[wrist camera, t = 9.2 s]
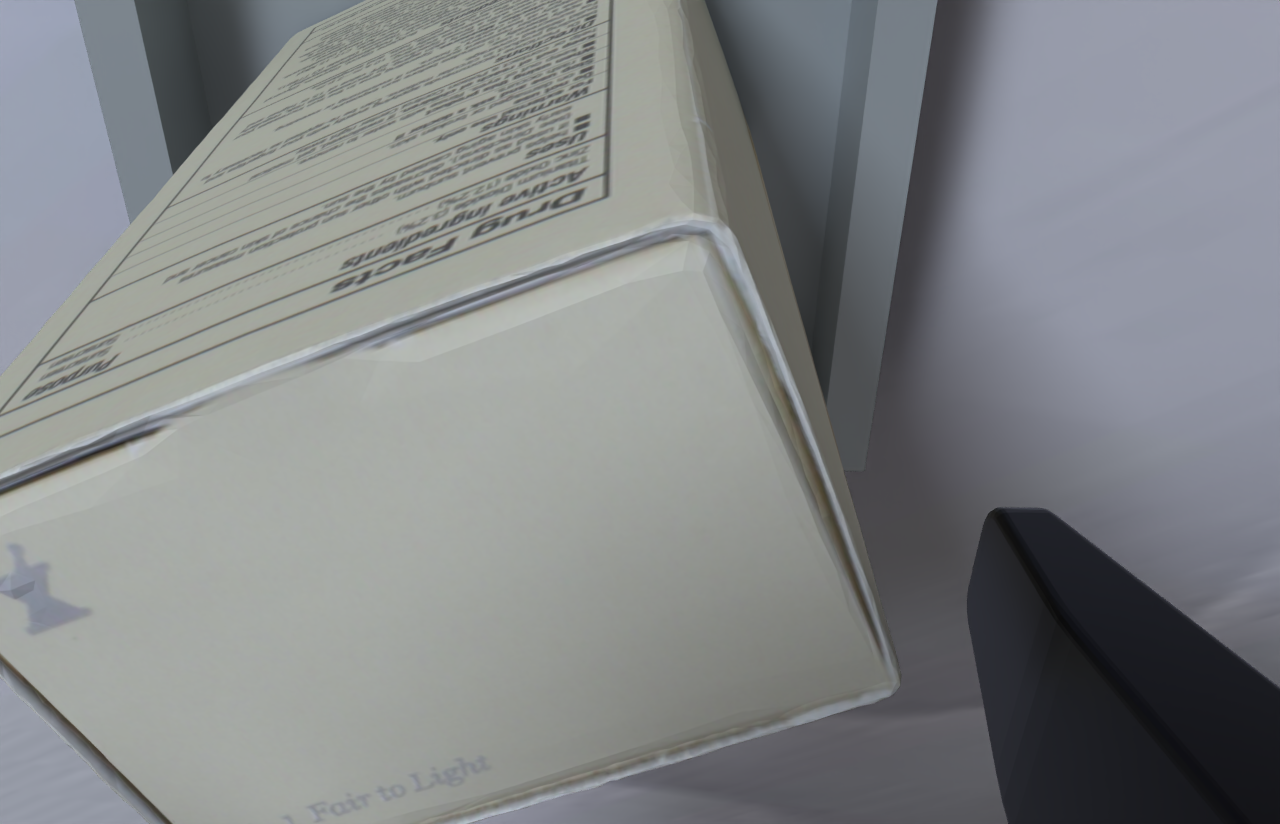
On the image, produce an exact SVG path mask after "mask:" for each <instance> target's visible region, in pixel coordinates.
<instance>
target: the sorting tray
mask: <svg viewBox="0 0 1280 824" xmlns="http://www.w3.org/2000/svg"><path fill="white" fill-rule="evenodd" d="M74 1H75V5H76V9H77V13H78V17H79V21H80V25H81V29H82V33H83V37H84V41H85V45H86V49H87V53H88V57H89V61H90V65H91V69H92V73H93V77H94V81H95V85H96V89H97V93H98V97H99V101H100V105H101V109H102V113H103V117H104V121H105V125H106V129H107V133H108V137H109V141H110V145H111V149H112V153H113V157H114V161H115V165H116V169H117V173H118V177H119V181H120V185H121V189H122V193H123V197H124V201H125V205H126V209H127V213H128V217H129V221H130V224H131V223H132V222H133V221H134V220H135V219H136V217H137V216H138V215H139V214H140V213H141V212H142V211H143V210H144V209H145V207H146V206H147V205H148V204H149V203H150V202H151V201H152V200H153V199H154V198H155V196H156V195H157V194H158V192H159V191H160V190H161V189H162V188H163V186H164V185H165V184H166V183H167V182H168V181H169V179H170V178H171V177H172V176H173V175H174V173H175V172H176V171H177V170H178V169H179V167H180V166H181V165H182V164H183V163H184V162H185V160H186V159H187V158H188V157H189V156H190V155H191V153H192V152H193V151H194V150H195V148H196V147H197V146H198V145H199V144H200V143H201V142H202V141H203V140H204V138H205V137H206V136H207V135H208V133H209V132H210V131H211V130H212V129H213V127H214V126H215V125H216V124H217V123H218V122H219V121H220V120H221V119H222V118H223V117H224V116H225V114H226V113H227V112H228V111H229V110H230V108H231V107H232V106H233V105H234V104H235V103H236V101H237V100H238V99H239V98H240V97H241V96H242V95H243V93H244V92H245V91H246V90H247V89H248V87H249V86H250V85H251V84H252V83H253V82H254V81H255V80H256V79H257V77H258V76H259V75H260V74H261V72H262V71H263V70H264V69H265V68H266V66H267V65H268V64H269V63H270V62H271V61H272V60H273V58H274V57H275V56H276V55H277V54H278V53H279V52H280V50H281V49H282V48H283V47H284V45H285V44H286V43H287V42H288V41H289V39H291V38H292V37H293V36H294V35H295V34H297V33H298V32H300V31H302V30H304V29H306V28H308V27H310V26H313V25H315V24H317V23H319V22H321V21H323V20H325V19H328V18H330V17H332V16H334V15H336V14H338V13H340V12H342V11H344V10H347V9H349V8H351V7H353V6H355V5H357V4H359V3H361V2H363V1H365V0H74ZM705 3H706V5H707V8H708V11H709V14H710V17H711V19H712V22H713V25H714V28H715V31H716V33H717V36H718V39H719V42H720V45H721V47H722V50H723V53H724V56H725V59H726V62H727V65H728V68H729V71H730V74H731V76H732V79H733V82H734V85H735V88H736V91H737V94H738V97H739V100H740V103H741V106H742V109H743V112H744V115H745V118H746V121H747V124H748V127H749V129H750V133H751V136H752V140H753V144H754V147H755V151H756V154H757V158H758V162H759V165H760V169H761V173H762V177H763V180H764V184H765V188H766V192H767V195H768V199H769V203H770V207H771V210H772V214H773V218H774V221H775V225H776V229H777V233H778V236H779V240H780V244H781V247H782V251H783V254H784V258H785V262H786V265H787V269H788V273H789V276H790V280H791V284H792V287H793V291H794V294H795V298H796V301H797V305H798V308H799V312H800V315H801V319H802V322H803V326H804V329H805V333H806V337H807V340H808V344H809V347H810V351H811V354H812V358H813V362H814V365H815V369H816V372H817V376H818V379H819V383H820V386H821V390H822V393H823V397H824V400H825V404H826V407H827V411H828V414H829V418H830V421H831V425H832V428H833V432H834V435H835V439H836V443H837V447H838V451H839V455H840V459H841V462H842V466H843V470H844V471H865V466H866V459H867V453H868V446H869V440H870V433H871V427H872V420H873V414H874V407H875V401H876V394H877V388H878V382H879V375H880V369H881V362H882V356H883V349H884V343H885V336H886V330H887V323H888V317H889V310H890V304H891V298H892V291H893V285H894V278H895V272H896V265H897V259H898V252H899V246H900V239H901V233H902V226H903V220H904V214H905V207H906V201H907V194H908V188H909V181H910V175H911V168H912V162H913V155H914V149H915V142H916V136H917V130H918V123H919V117H920V110H921V104H922V97H923V91H924V84H925V78H926V71H927V65H928V58H929V52H930V46H931V39H932V33H933V26H934V20H935V13H936V7H937V0H705Z"/></svg>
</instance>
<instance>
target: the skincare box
mask: <svg viewBox="0 0 1280 824" xmlns="http://www.w3.org/2000/svg"><path fill="white" fill-rule="evenodd" d="M0 678H1V679H3V680H4V681H5V683H6V684H7V685H8V686H9V687H10V688H11V689H12V690H13V692H14V693H15V694H16V695H17V696H18V697H19V698H20V699H21V700H22V701H23V702H24V703H25V704H26V705H28V706H29V707H30V708H31V709H33V711H34V712H35V713H36V714H37V715H38V716H39V717H40V718H41V719H42V720H43V721H44V722H45V723H46V724H47V725H48V726H49V727H50V728H51V729H52V730H53V731H54V732H55V733H56V734H57V735H58V736H59V737H60V738H61V739H62V740H63V741H64V742H65V743H66V744H67V745H68V746H70V747H71V748H72V749H73V750H74V751H75V752H76V753H77V754H78V755H79V757H80V758H81V759H82V760H84V761H85V762H86V763H87V764H88V765H89V766H90V767H91V768H92V770H93V771H94V772H95V773H96V774H97V775H98V776H99V777H100V778H101V779H102V780H103V781H104V782H105V783H106V784H107V785H108V786H109V787H110V788H111V789H112V790H113V791H114V792H115V793H117V794H118V795H119V796H120V797H121V799H122V800H123V801H125V802H126V803H127V804H128V805H130V806H131V807H132V808H134V809H135V810H136V811H137V812H138V813H139V814H140V815H141V816H142V817H143V818H144V819H145V820H146V821H147V822H148V823H149V824H470V823H473V822H477V821H480V820H483V819H486V818H489V817H493V816H497V815H500V814H504V813H508V812H512V811H515V810H519V809H523V808H527V807H529V806H532V805H535V804H537V803H540V802H543V801H547V800H550V799H554V798H557V797H560V796H564V795H567V794H571V793H575V792H579V791H584V790H588V789H593V788H597V787H600V786H602V785H604V784H605V783H607V782H609V781H611V780H621V779H623V778H625V777H627V776H633V775H636V774H639V773H643V772H646V771H649V770H652V769H656V768H660V767H663V766H667V765H671V764H675V763H678V762H681V761H684V760H687V759H690V758H693V757H699V756H702V755H705V754H707V753H710V752H713V751H716V750H719V749H721V748H724V747H727V746H731V745H734V744H738V743H741V742H745V741H749V740H752V739H756V738H759V737H763V736H766V735H770V734H773V733H776V732H779V731H782V730H785V729H788V728H792V727H795V726H799V725H803V724H806V723H810V722H813V721H816V720H819V719H822V718H825V717H828V716H831V715H834V714H838V713H842V712H845V711H849V710H852V709H854V708H857V707H860V706H864V705H869V704H874V703H876V702H878V701H880V700H883V699H885V698H888V697H890V696H892V695H894V694H895V692H896V691H897V690H898V689H899V687H900V684H901V671H900V667H899V663H898V659H897V655H896V651H895V648H894V645H893V641H892V638H891V635H890V631H889V628H888V624H887V621H886V618H885V614H884V611H883V607H882V604H881V601H880V597H879V593H878V590H877V586H876V583H875V579H874V575H873V572H872V568H871V565H870V561H869V557H868V554H867V550H866V547H865V543H864V540H863V536H862V533H861V529H860V526H859V522H858V519H857V515H856V512H855V508H854V505H853V501H852V498H851V494H850V491H849V487H848V484H847V481H846V477H845V474H844V470H843V466H842V462H841V459H840V455H839V451H838V447H837V443H836V439H835V435H834V432H833V428H832V425H831V421H830V418H829V414H828V411H827V407H826V404H825V400H824V397H823V393H822V390H821V386H820V383H819V379H818V376H817V372H816V369H815V365H814V362H813V358H812V354H811V351H810V347H809V344H808V340H807V337H806V333H805V329H804V326H803V322H802V319H801V315H800V312H799V308H798V305H797V301H796V298H795V294H794V291H793V287H792V284H791V280H790V276H789V273H788V269H787V265H786V262H785V258H784V254H783V251H782V247H781V244H780V240H779V236H778V233H777V229H776V225H775V221H774V218H773V214H772V210H771V207H770V203H769V199H768V195H767V192H766V188H765V184H764V180H763V177H762V173H761V169H760V165H759V162H758V158H757V154H756V151H755V147H754V144H753V140H752V136H751V133H750V129H749V127H748V124H747V121H746V118H745V115H744V112H743V109H742V106H741V103H740V100H739V97H738V94H737V91H736V88H735V85H734V82H733V79H732V76H731V74H730V71H729V68H728V65H727V62H726V59H725V56H724V53H723V50H722V47H721V45H720V42H719V39H718V36H717V33H716V31H715V28H714V25H713V22H712V19H711V17H710V14H709V11H708V8H707V5H706V3H705V0H365V1H363V2H361V3H359V4H357V5H355V6H353V7H351V8H349V9H347V10H344V11H342V12H340V13H338V14H336V15H334V16H332V17H330V18H328V19H325V20H323V21H321V22H319V23H317V24H315V25H313V26H310V27H308V28H306V29H304V30H302V31H300V32H298V33H297V34H295V35H294V36H293V37H292V38H291V39H289V41H288V42H287V43H286V44H285V45H284V47H283V48H282V49H281V50H280V52H279V53H278V54H277V55H276V56H275V57H274V58H273V60H272V61H271V62H270V63H269V64H268V65H267V66H266V68H265V69H264V70H263V71H262V72H261V74H260V75H259V76H258V77H257V79H256V80H255V81H254V82H253V83H252V84H251V85H250V86H249V87H248V89H247V90H246V91H245V92H244V93H243V95H242V96H241V97H240V98H239V99H238V100H237V101H236V103H235V104H234V105H233V106H232V107H231V108H230V110H229V111H228V112H227V113H226V114H225V116H224V117H223V118H222V119H221V120H220V121H219V122H218V123H217V124H216V125H215V126H214V127H213V129H212V130H211V131H210V132H209V133H208V135H207V136H206V137H205V138H204V140H203V141H202V142H201V143H200V144H199V145H198V146H197V147H196V148H195V150H194V151H193V152H192V153H191V155H190V156H189V157H188V158H187V159H186V160H185V162H184V163H183V164H182V165H181V166H180V167H179V169H178V170H177V171H176V172H175V173H174V175H173V176H172V177H171V178H170V179H169V181H168V182H167V183H166V184H165V185H164V186H163V188H162V189H161V190H160V191H159V192H158V194H157V195H156V196H155V198H154V199H153V200H152V201H151V202H150V203H149V204H148V205H147V206H146V207H145V209H144V210H143V211H142V212H141V213H140V214H139V215H138V216H137V217H136V219H135V220H134V221H133V222H132V223H131V224H130V226H129V227H128V228H127V229H126V230H125V231H124V233H123V234H122V235H121V236H120V237H119V238H118V240H117V241H116V242H115V243H114V244H113V246H112V247H111V248H110V249H109V250H108V251H107V253H106V254H105V255H104V256H103V257H102V258H101V260H100V261H99V262H98V263H97V264H96V265H95V266H94V267H93V269H92V270H91V271H90V272H89V273H88V274H87V275H86V276H85V278H84V279H83V280H82V281H81V283H80V284H79V285H78V286H77V287H76V289H75V290H74V291H73V292H72V294H71V295H70V296H69V297H68V298H67V299H66V301H65V302H64V303H63V304H62V305H61V306H60V307H59V308H58V310H57V311H56V312H55V313H54V314H53V315H52V316H51V317H50V319H49V320H48V321H47V322H46V323H45V325H44V326H43V327H42V328H41V330H40V331H39V332H38V334H37V335H36V336H35V337H34V339H33V340H32V341H31V342H30V343H29V344H28V345H27V346H26V347H25V349H24V350H23V351H22V352H21V353H20V354H19V355H18V357H17V358H16V359H15V360H14V361H13V362H12V364H11V365H10V366H9V367H8V368H7V369H6V370H5V372H4V373H3V374H2V375H1V376H0Z"/></svg>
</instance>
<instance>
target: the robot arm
mask: <svg viewBox="0 0 1280 824" xmlns="http://www.w3.org/2000/svg"><path fill="white" fill-rule="evenodd" d="M967 615H968V623H969V628H970V634H971V639H972V645H973V650H974V655H975V661H976V666H977V672H978V677H979V682H980V688H981V693H982V698H983V704H984V709H985V715H986V720H987V725H988V731H989V736H990V742H991V747H992V752H993V758H994V763H995V768H996V774H997V778H998V783H999V788H1000V793H1001V798H1002V802H1003V806H1004V809H1005V813H1006V817H1007V820H1008V824H1280V688H1279V687H1278V686H1277V685H1276V684H1274V683H1273V682H1272V681H1270V680H1269V679H1268V678H1267V677H1265V676H1264V675H1263V674H1261V673H1260V672H1259V671H1257V670H1256V669H1255V668H1254V667H1252V666H1251V665H1250V664H1248V663H1247V662H1246V661H1244V660H1243V659H1242V658H1241V657H1239V656H1238V655H1237V654H1235V653H1234V652H1233V651H1231V650H1230V649H1229V648H1228V647H1226V646H1225V645H1224V644H1222V643H1221V642H1220V641H1218V640H1217V639H1216V638H1215V637H1213V636H1212V635H1211V634H1209V633H1208V632H1207V631H1205V630H1204V629H1203V628H1202V627H1200V626H1199V625H1198V624H1196V623H1195V622H1194V621H1193V620H1191V619H1190V618H1189V617H1187V616H1186V615H1185V614H1183V613H1182V612H1181V611H1180V610H1178V609H1177V608H1176V607H1174V606H1173V605H1172V604H1170V603H1169V602H1168V601H1167V600H1165V599H1164V598H1163V597H1161V596H1160V595H1159V594H1157V593H1156V592H1155V591H1154V590H1152V589H1151V588H1150V587H1148V586H1147V585H1146V584H1144V583H1143V582H1142V581H1141V580H1139V579H1138V578H1137V577H1135V576H1134V575H1133V574H1131V573H1130V572H1129V571H1128V570H1126V569H1125V568H1124V567H1122V566H1121V565H1120V564H1118V563H1117V562H1116V561H1115V560H1113V559H1112V558H1111V557H1109V556H1108V555H1107V554H1106V553H1104V552H1103V551H1102V550H1100V549H1099V548H1098V547H1096V546H1095V545H1094V544H1093V543H1091V542H1090V541H1089V540H1087V539H1086V538H1085V537H1083V536H1082V535H1081V534H1080V533H1078V532H1077V531H1076V530H1074V529H1073V528H1072V527H1070V526H1069V525H1068V524H1067V523H1065V522H1064V521H1063V520H1061V519H1060V518H1059V517H1057V516H1056V515H1055V514H1053V513H1052V512H1050V511H1048V510H1046V509H1043V508H996V509H994V510H993V511H991V512H990V513H989V514H988V516H987V518H986V519H985V521H984V525H983V528H982V532H981V537H980V541H979V545H978V549H977V554H976V558H975V562H974V566H973V571H972V575H971V579H970V583H969V588H968V595H967Z"/></svg>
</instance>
